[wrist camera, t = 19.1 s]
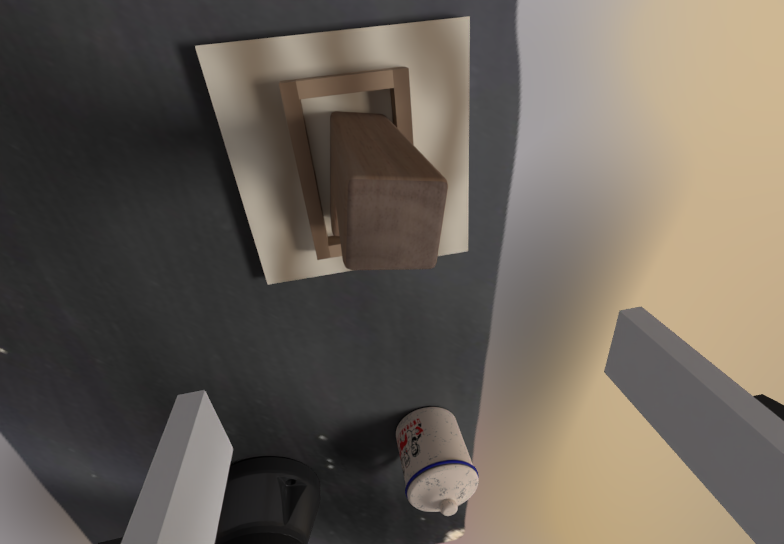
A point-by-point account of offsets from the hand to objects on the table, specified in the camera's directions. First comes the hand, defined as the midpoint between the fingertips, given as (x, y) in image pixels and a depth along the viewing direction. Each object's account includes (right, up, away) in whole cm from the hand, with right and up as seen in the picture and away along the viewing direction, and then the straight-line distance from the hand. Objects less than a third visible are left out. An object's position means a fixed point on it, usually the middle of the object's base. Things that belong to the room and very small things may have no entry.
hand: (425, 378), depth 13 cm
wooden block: (-4, +12, +21) cm, 25 cm away
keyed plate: (-4, +13, +22) cm, 26 cm away
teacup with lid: (+3, -19, +43) cm, 47 cm away
